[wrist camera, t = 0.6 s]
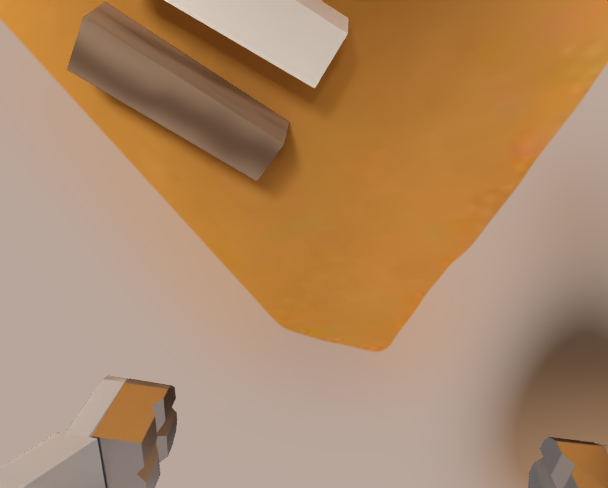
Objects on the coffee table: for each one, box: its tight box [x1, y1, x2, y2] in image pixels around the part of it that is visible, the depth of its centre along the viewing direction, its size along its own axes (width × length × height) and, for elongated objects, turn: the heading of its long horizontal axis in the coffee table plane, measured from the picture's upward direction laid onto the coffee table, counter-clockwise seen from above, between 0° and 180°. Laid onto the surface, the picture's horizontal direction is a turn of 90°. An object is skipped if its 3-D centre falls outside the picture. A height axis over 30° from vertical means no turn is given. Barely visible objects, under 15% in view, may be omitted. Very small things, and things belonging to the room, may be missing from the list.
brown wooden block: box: [67, 2, 289, 181], centre depth 50 cm, size 6×22×5 cm, turn 56°
